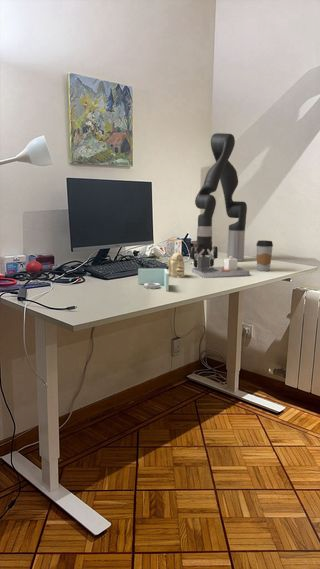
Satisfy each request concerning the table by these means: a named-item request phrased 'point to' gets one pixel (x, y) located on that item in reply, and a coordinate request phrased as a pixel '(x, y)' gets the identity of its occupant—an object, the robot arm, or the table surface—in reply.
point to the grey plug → (203, 262)
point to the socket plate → (220, 272)
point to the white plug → (230, 263)
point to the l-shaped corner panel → (153, 278)
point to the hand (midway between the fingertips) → (203, 267)
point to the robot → (176, 265)
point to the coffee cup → (264, 255)
